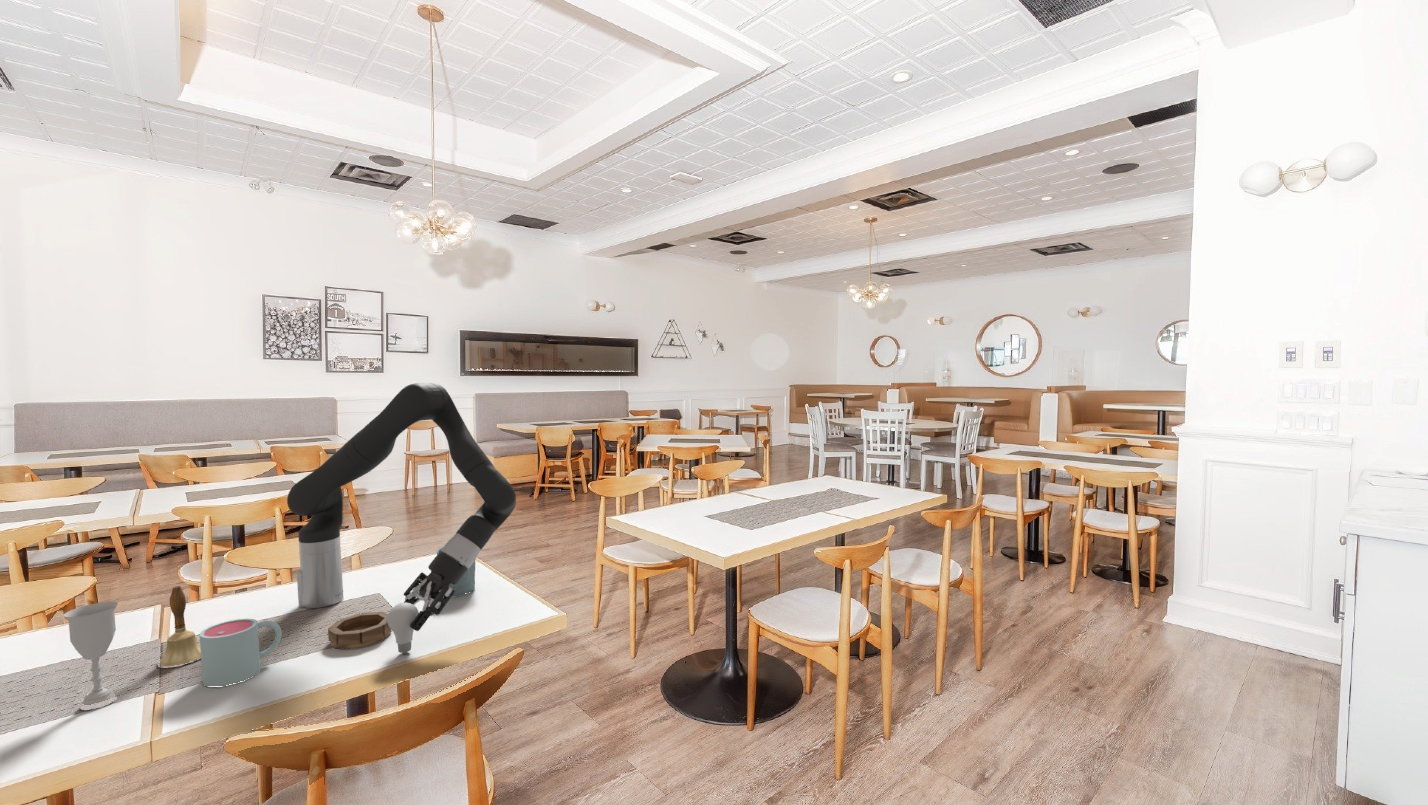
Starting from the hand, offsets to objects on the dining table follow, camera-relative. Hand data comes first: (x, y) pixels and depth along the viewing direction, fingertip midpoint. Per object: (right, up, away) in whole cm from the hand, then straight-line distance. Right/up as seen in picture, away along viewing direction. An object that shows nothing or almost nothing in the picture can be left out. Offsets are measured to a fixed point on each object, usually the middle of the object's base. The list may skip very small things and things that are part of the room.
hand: (405, 623), depth 133 cm
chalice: (-48, -9, -18) cm, 52 cm away
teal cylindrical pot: (-4, -5, +37) cm, 37 cm away
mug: (-30, -8, -7) cm, 31 cm away
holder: (-14, -6, +8) cm, 18 cm away
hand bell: (-47, -8, -1) cm, 48 cm away
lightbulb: (0, -7, 0) cm, 7 cm away
